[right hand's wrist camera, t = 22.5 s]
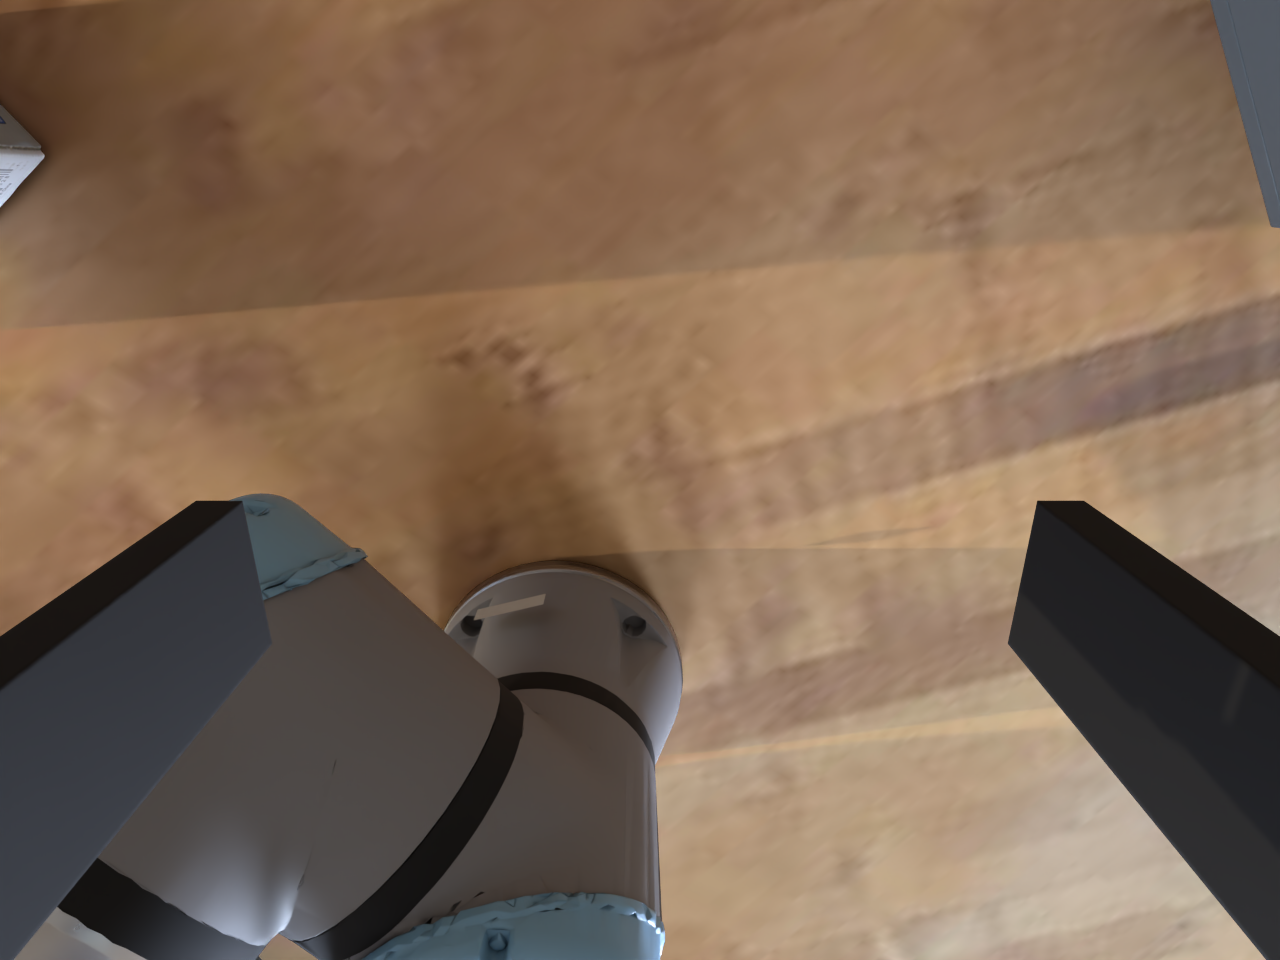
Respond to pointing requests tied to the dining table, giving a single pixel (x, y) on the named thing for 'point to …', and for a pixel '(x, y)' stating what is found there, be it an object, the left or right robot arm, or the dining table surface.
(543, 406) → the dining table surface
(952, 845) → the dining table surface
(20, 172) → the hard drive box
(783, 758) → the dining table surface
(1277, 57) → the pan
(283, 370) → the dining table surface
